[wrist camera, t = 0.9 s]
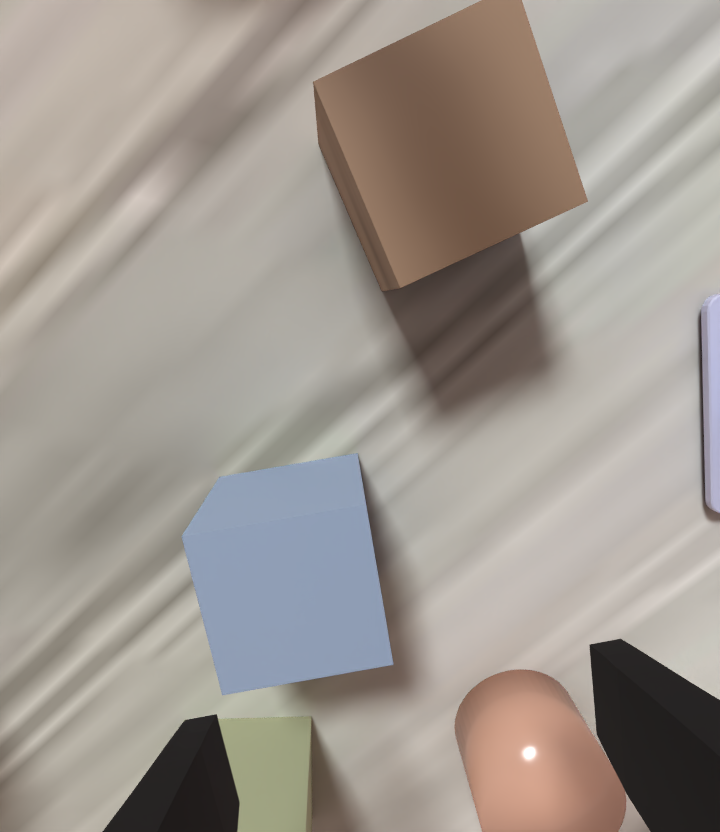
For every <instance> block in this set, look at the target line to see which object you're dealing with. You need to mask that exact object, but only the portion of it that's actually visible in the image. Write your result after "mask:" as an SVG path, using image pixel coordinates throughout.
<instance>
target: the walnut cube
mask: <svg viewBox="0 0 720 832" xmlns="http://www.w3.org/2000/svg"><path fill="white" fill-rule="evenodd" d="M313 85H314V97H315V109H316V120H317V132H318V144H319V146H320V149H321V151H322V153H323V156H324V158H325V160H326V163H327V165H328V167H329V170H330V172H331V174H332V177H333V179H334V181H335V184H336V186H337V188H338V191H339V193H340V195H341V198H342V200H343V202H344V205H345V207H346V209H347V212H348V214H349V216H350V219H351V221H352V223H353V226H354V228H355V230H356V233H357V235H358V237H359V239H360V242H361V244H362V246H363V249H364V251H365V253H366V256H367V258H368V260H369V263H370V265H371V267H372V270H373V272H374V274H375V277H376V279H377V281H378V284H379V286H380V288H381V291H382V292H383V291H388V290H393V289H398V288H402V287H404V286H406V285H408V284H410V283H412V282H415V281H417V280H419V279H421V278H423V277H425V276H428V275H430V274H432V273H434V272H436V271H438V270H441V269H443V268H445V267H447V266H449V265H451V264H454V263H456V262H458V261H460V260H462V259H464V258H467V257H469V256H471V255H473V254H475V253H477V252H480V251H482V250H484V249H486V248H488V247H490V246H492V245H495V244H497V243H499V242H501V241H503V240H505V239H508V238H510V237H512V236H514V235H516V234H518V233H521V232H523V231H525V230H527V229H529V228H531V227H534V226H536V225H538V224H540V223H542V222H544V221H547V220H549V219H551V218H553V217H555V216H557V215H560V214H562V213H564V212H566V211H568V210H570V209H573V208H575V207H577V206H579V205H581V204H583V203H586V202H588V200H587V197H586V194H585V191H584V188H583V185H582V182H581V179H580V176H579V173H578V170H577V167H576V164H575V161H574V158H573V155H572V152H571V149H570V146H569V143H568V139H567V136H566V133H565V130H564V127H563V124H562V121H561V118H560V115H559V112H558V109H557V106H556V103H555V100H554V97H553V94H552V91H551V88H550V85H549V82H548V79H547V76H546V73H545V70H544V67H543V64H542V61H541V58H540V54H539V51H538V48H537V45H536V42H535V39H534V36H533V33H532V30H531V27H530V24H529V21H528V18H527V15H526V12H525V9H524V6H523V3H522V0H482V1H479V2H477V3H475V4H473V5H471V6H469V7H467V8H465V9H463V10H461V11H459V12H457V13H455V14H453V15H451V16H448V17H446V18H444V19H442V20H440V21H438V22H436V23H434V24H432V25H430V26H428V27H426V28H424V29H422V30H419V31H417V32H415V33H413V34H411V35H409V36H407V37H405V38H403V39H401V40H399V41H397V42H395V43H393V44H390V45H388V46H386V47H384V48H382V49H380V50H378V51H376V52H374V53H372V54H370V55H368V56H366V57H364V58H361V59H359V60H357V61H355V62H353V63H351V64H349V65H347V66H345V67H343V68H341V69H339V70H337V71H335V72H332V73H330V74H328V75H326V76H324V77H322V78H320V79H318V80H316V81H314V82H313Z"/></svg>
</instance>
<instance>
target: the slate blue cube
mask: <svg viewBox="0 0 720 832" xmlns="http://www.w3.org/2000/svg"><path fill="white" fill-rule="evenodd" d="M182 540H183V544H184V548H185V552H186V555H187V559H188V563H189V567H190V571H191V575H192V579H193V583H194V587H195V591H196V594H197V598H198V602H199V606H200V610H201V614H202V618H203V622H204V626H205V630H206V634H207V637H208V641H209V645H210V649H211V653H212V657H213V661H214V665H215V669H216V673H217V676H218V680H219V684H220V688H221V692H222V695H227V694H232V693H238V692H243V691H249V690H255V689H260V688H266V687H271V686H277V685H283V684H288V683H294V682H300V681H305V680H311V679H316V678H322V677H328V676H333V675H339V674H344V673H350V672H356V671H361V670H367V669H372V668H378V667H384V666H389V665H393V659H392V653H391V647H390V641H389V635H388V629H387V623H386V617H385V611H384V605H383V599H382V593H381V587H380V581H379V576H378V570H377V564H376V558H375V552H374V546H373V541H372V535H371V529H370V523H369V517H368V512H367V506H366V500H365V494H364V488H363V482H362V477H361V471H360V465H359V459H358V453H356V454H350V455H344V456H338V457H332V458H327V459H321V460H315V461H309V462H304V463H298V464H292V465H286V466H280V467H275V468H269V469H263V470H257V471H251V472H246V473H240V474H234V475H228V476H222V477H219V479H218V480H217V482H216V483H215V485H214V487H213V488H212V490H211V491H210V493H209V494H208V496H207V497H206V499H205V501H204V502H203V504H202V505H201V507H200V508H199V510H198V512H197V513H196V515H195V516H194V518H193V519H192V521H191V523H190V524H189V526H188V527H187V529H186V530H185V532H184V533H183V535H182Z"/></svg>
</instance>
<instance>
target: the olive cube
mask: <svg viewBox="0 0 720 832" xmlns="http://www.w3.org/2000/svg"><path fill="white" fill-rule="evenodd" d="M184 721H185V720H184ZM218 721H219V725H220V729H221V733H222V737H223V740H224V744H225V748H226V752H227V756H228V759H229V763H230V767H231V771H232V775H233V778H234V782H235V786H236V790H237V794H238V797H239V801H240V806H239V818H238V830H237V832H312V741H311V716H308V717H273V718H238V719H218Z"/></svg>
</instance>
